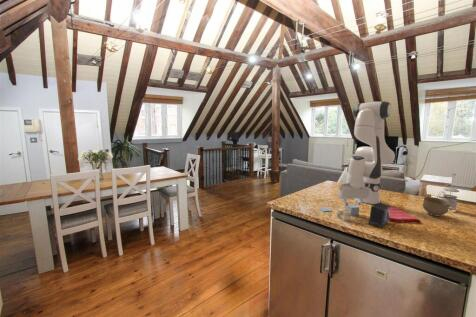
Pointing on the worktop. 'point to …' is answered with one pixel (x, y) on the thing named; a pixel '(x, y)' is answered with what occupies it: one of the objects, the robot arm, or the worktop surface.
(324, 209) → the tile
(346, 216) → the maple block
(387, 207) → the small box
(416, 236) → the worktop surface
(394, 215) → the dish towel
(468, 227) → the worktop surface
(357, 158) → the robot arm
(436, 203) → the bowl
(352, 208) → the grey cube
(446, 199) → the french press
